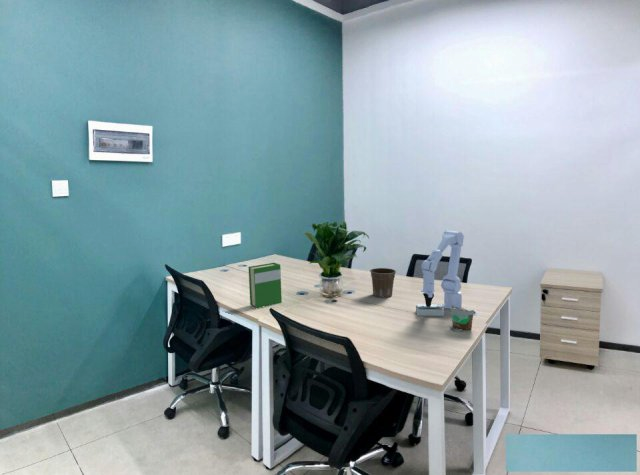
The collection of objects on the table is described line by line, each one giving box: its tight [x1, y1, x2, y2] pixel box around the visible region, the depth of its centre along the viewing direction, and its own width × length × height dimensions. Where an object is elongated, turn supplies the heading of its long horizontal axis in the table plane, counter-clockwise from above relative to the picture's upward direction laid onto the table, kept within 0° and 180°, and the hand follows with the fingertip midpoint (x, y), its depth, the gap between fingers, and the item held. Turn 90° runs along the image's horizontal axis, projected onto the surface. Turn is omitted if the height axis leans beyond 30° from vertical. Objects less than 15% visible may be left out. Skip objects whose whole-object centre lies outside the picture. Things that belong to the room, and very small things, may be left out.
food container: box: [449, 305, 475, 331], centre depth 203 cm, size 12×6×10 cm, turn 40°
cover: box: [416, 303, 444, 309], centre depth 226 cm, size 13×7×1 cm, turn 83°
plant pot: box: [369, 267, 397, 298], centre depth 262 cm, size 16×16×16 cm
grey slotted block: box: [415, 304, 445, 317], centre depth 226 cm, size 14×8×4 cm, turn 83°
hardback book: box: [248, 262, 282, 309], centre depth 248 cm, size 18×7×24 cm, turn 127°
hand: (428, 306), depth 224 cm, fingers closed, pressing on cover
